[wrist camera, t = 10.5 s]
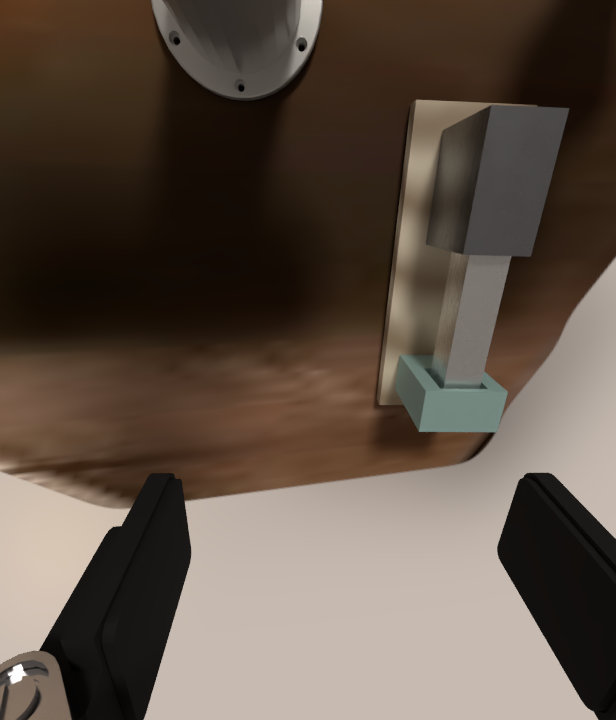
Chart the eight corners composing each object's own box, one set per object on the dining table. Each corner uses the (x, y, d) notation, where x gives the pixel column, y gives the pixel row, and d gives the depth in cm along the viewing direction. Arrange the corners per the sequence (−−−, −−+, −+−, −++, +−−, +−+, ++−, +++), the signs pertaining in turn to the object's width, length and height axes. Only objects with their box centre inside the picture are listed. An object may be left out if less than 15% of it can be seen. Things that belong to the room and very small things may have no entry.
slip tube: (460, 202, 28) (479, 202, 25) (500, 203, 28) (524, 203, 25) (428, 384, 34) (440, 401, 32) (461, 385, 35) (476, 401, 32)
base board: (410, 104, 30) (416, 99, 29) (526, 109, 31) (537, 105, 29) (376, 398, 41) (379, 404, 40) (462, 399, 41) (468, 405, 40)
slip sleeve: (442, 130, 30) (491, 104, 22) (501, 132, 30) (569, 108, 23) (425, 244, 33) (463, 254, 26) (478, 245, 33) (530, 256, 26)
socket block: (399, 354, 37) (425, 391, 30) (465, 355, 38) (508, 391, 30) (395, 388, 39) (418, 431, 32) (458, 389, 39) (496, 432, 32)
